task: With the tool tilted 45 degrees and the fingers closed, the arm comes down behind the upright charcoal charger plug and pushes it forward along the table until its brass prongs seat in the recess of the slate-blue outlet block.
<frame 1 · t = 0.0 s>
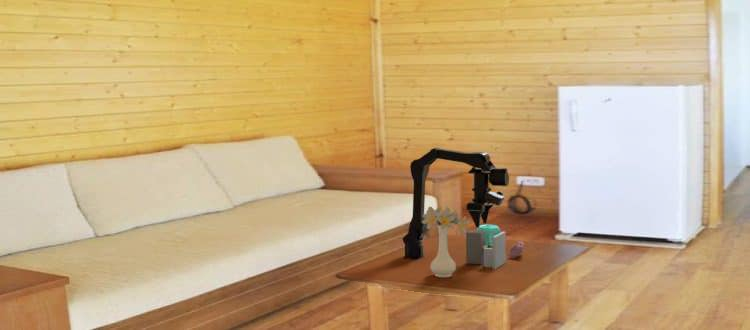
hand: (481, 225, 330), 15 cm above the table, tool pointing down, fingers open, 9 cm apart
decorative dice: (488, 245, 364), on the table
flower vase: (445, 276, 312), on the table
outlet: (493, 264, 328), on the table
video game controller: (516, 256, 342), on the table
charger plug: (477, 247, 330), point 6 cm above the table, slide at 0.0 cm
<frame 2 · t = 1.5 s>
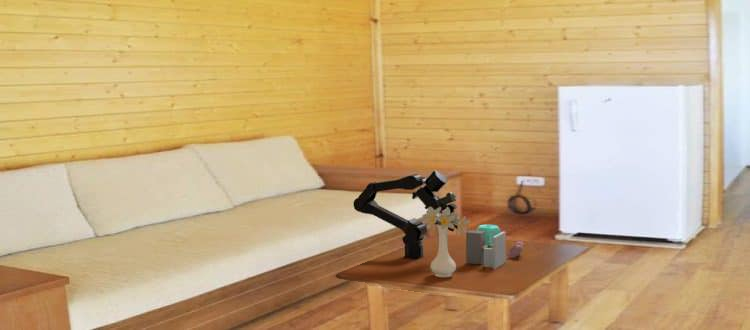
hand: (456, 229, 333), 13 cm above the table, tool tilted 45°, fingers open, 5 cm apart
nothing on the table moved.
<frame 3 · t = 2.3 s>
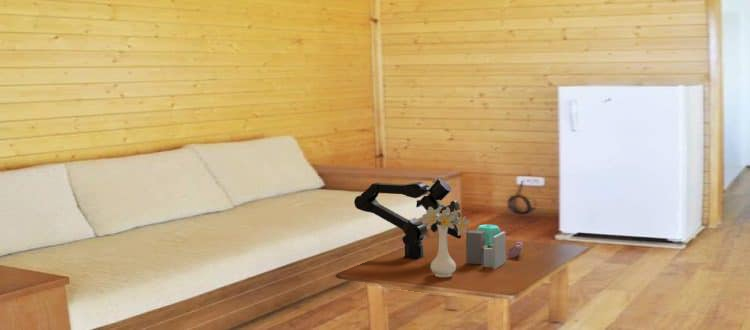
hand: (460, 238, 333), 9 cm above the table, tool tilted 45°, fingers closed
nothing on the table moved.
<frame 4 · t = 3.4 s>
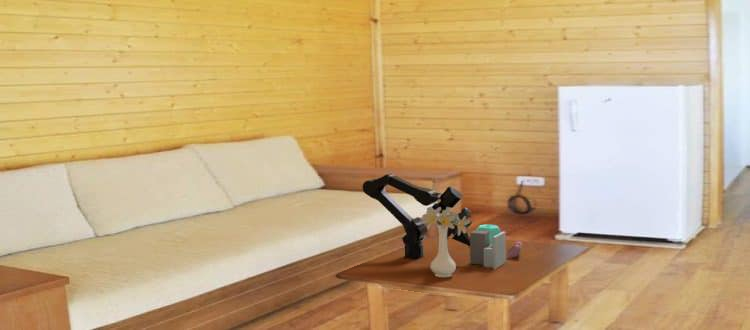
hand: (471, 245, 331), 7 cm above the table, tool tilted 45°, fingers closed, pressing on charger plug
charger plug: (481, 247, 329), point 6 cm above the table, slide at 1.6 cm, touching gripper
everything else where it was.
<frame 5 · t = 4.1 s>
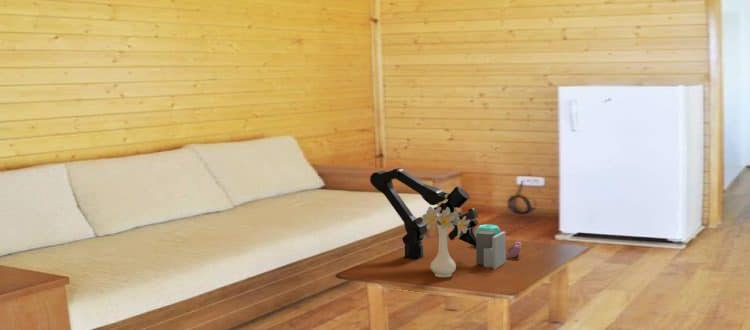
hand: (478, 246, 330), 7 cm above the table, tool tilted 45°, fingers closed, pressing on charger plug
charger plug: (487, 248, 328), point 6 cm above the table, slide at 4.1 cm, touching gripper, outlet
everything else where it was.
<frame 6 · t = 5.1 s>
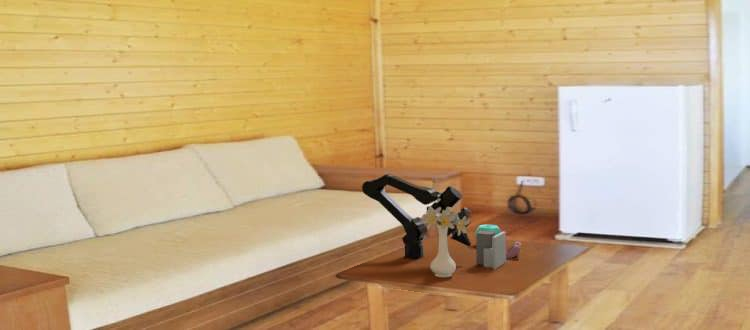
hand: (470, 245, 331), 7 cm above the table, tool tilted 45°, fingers closed
charger plug: (487, 248, 328), point 6 cm above the table, slide at 4.1 cm, touching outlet
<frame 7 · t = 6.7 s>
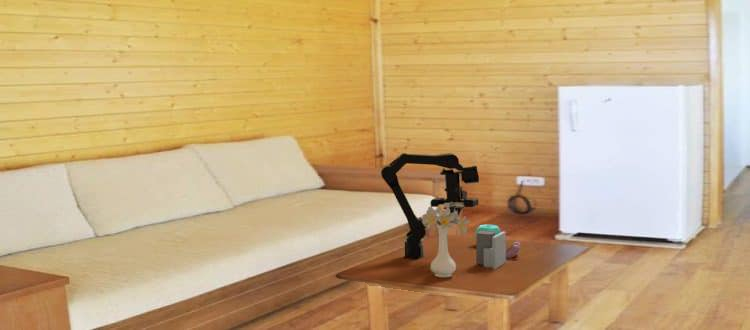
hand: (455, 223, 342), 13 cm above the table, tool pointing down, fingers closed
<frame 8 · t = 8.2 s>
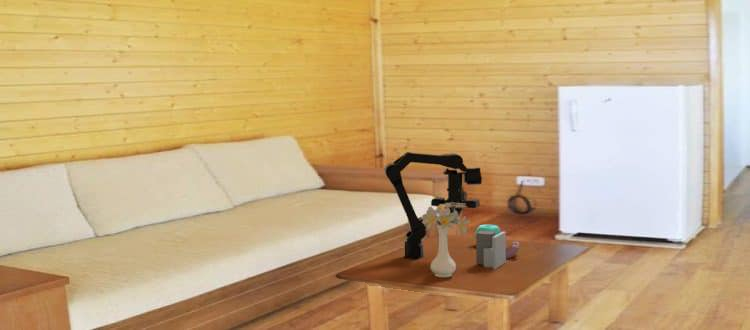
hand: (455, 223, 343), 13 cm above the table, tool pointing down, fingers closed
at the end: charger plug slide at 4.1 cm; the gripper is holding nothing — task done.
